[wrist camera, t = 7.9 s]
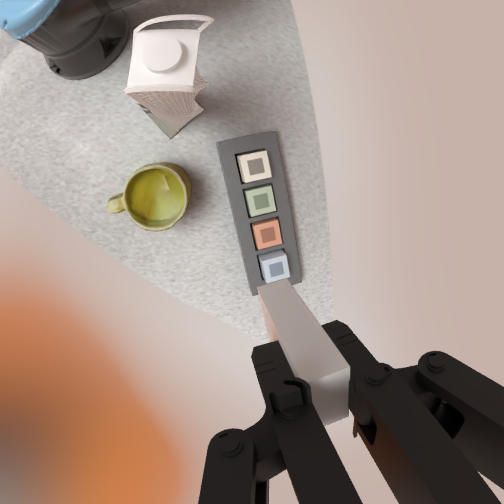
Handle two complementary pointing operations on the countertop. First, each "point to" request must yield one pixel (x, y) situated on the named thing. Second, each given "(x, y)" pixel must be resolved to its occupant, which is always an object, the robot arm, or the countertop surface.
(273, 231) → the key terracotta
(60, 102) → the countertop surface
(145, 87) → the skyscraper
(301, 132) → the countertop surface
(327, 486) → the robot arm
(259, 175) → the key ivory
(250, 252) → the keyguard frame
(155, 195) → the mug
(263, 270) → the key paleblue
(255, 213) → the key sage
